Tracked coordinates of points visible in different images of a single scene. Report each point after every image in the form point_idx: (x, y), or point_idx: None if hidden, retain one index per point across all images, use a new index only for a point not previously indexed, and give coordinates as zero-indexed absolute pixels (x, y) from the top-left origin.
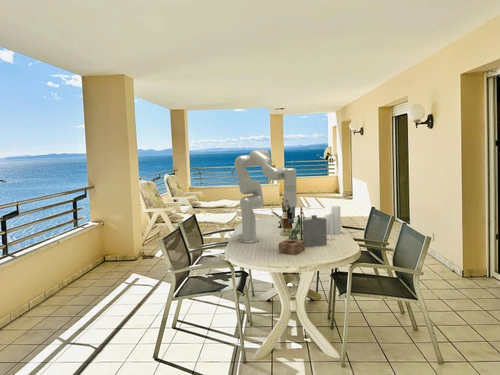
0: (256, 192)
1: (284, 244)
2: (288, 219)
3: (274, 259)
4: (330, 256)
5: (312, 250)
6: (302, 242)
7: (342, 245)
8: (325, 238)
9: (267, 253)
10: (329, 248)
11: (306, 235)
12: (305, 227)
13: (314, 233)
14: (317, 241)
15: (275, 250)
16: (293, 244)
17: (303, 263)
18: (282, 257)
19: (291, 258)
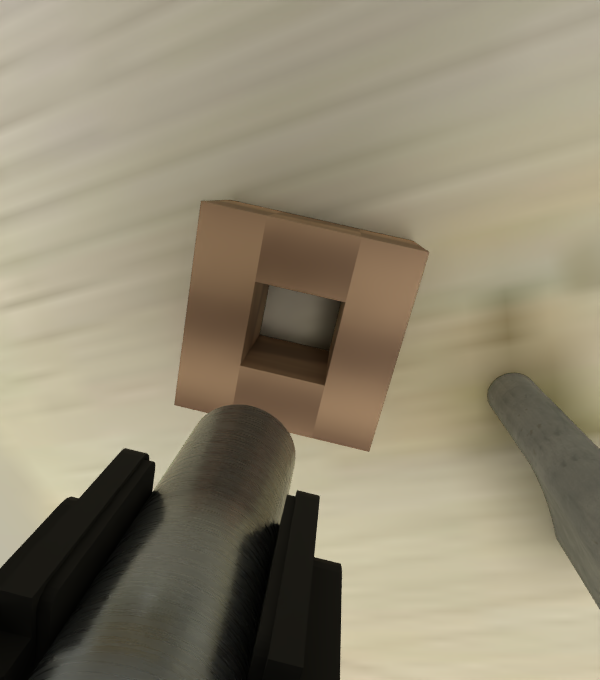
0: None
1: (192, 276)
2: (199, 447)
3: (24, 221)
4: None
5: (372, 463)
6: (318, 436)
7: (562, 646)
8: (589, 592)
9: (178, 89)
10: (455, 570)
11: (532, 467)
12: (576, 528)
13: (588, 551)
14: (558, 511)
15: (308, 138)
16: (193, 373)
17: (21, 447)
18: (102, 272)
19: (101, 348)
